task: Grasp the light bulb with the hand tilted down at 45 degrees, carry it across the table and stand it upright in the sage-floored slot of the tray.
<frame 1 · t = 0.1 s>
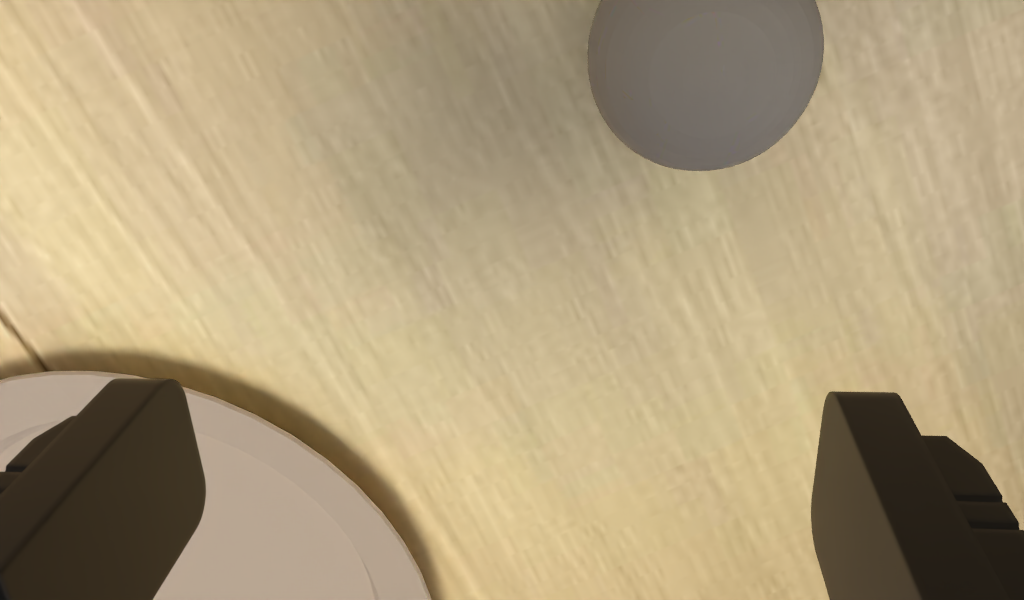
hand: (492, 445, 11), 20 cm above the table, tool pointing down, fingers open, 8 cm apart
light bulb: (680, 10, 28), on the table
plate: (172, 588, 41), on the table
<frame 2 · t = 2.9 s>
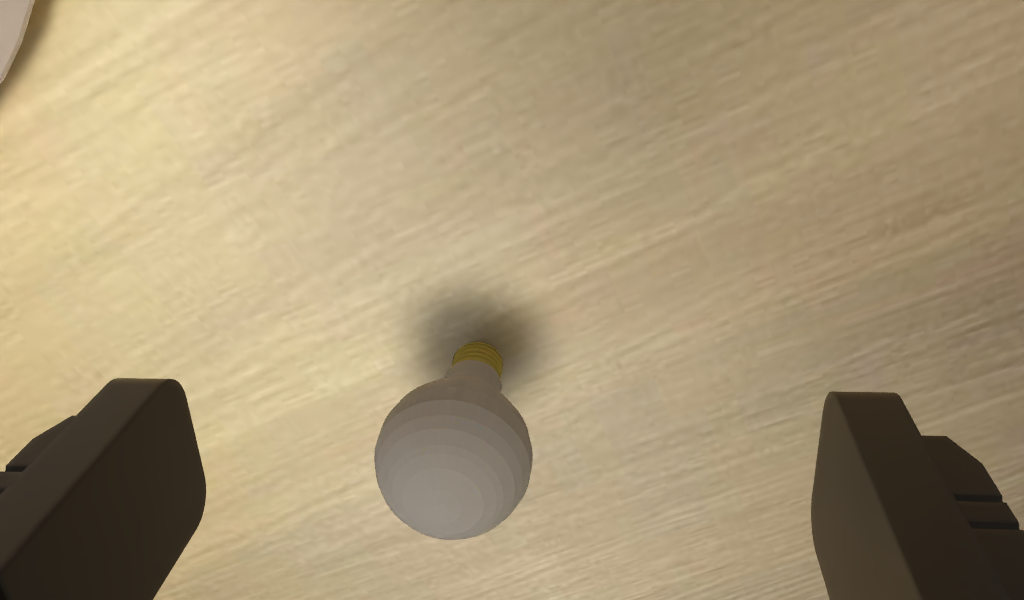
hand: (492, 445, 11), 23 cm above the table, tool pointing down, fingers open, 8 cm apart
light bulb: (481, 353, 38), on the table
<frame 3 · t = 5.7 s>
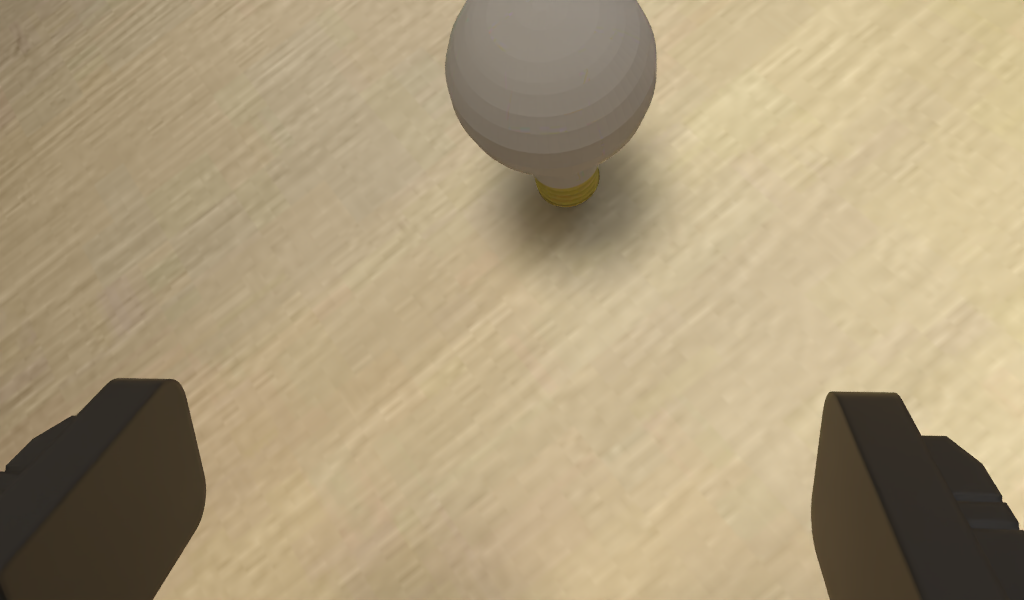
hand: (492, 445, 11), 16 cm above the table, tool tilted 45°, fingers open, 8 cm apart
light bulb: (568, 190, 30), on the table
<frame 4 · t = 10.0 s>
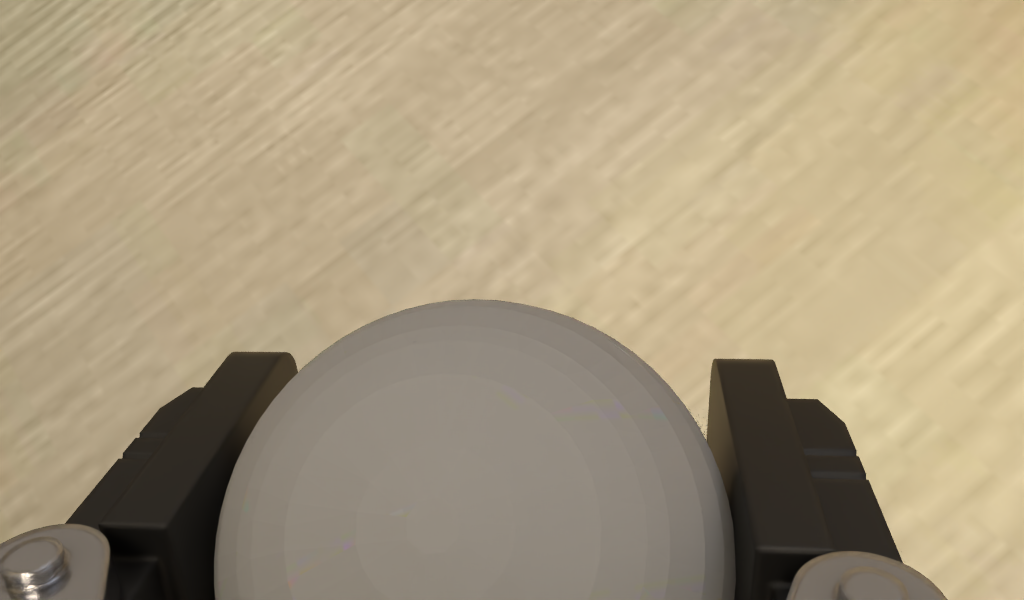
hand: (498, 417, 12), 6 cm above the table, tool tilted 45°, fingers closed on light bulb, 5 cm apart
light bulb: (529, 576, 17), on the table, touching gripper
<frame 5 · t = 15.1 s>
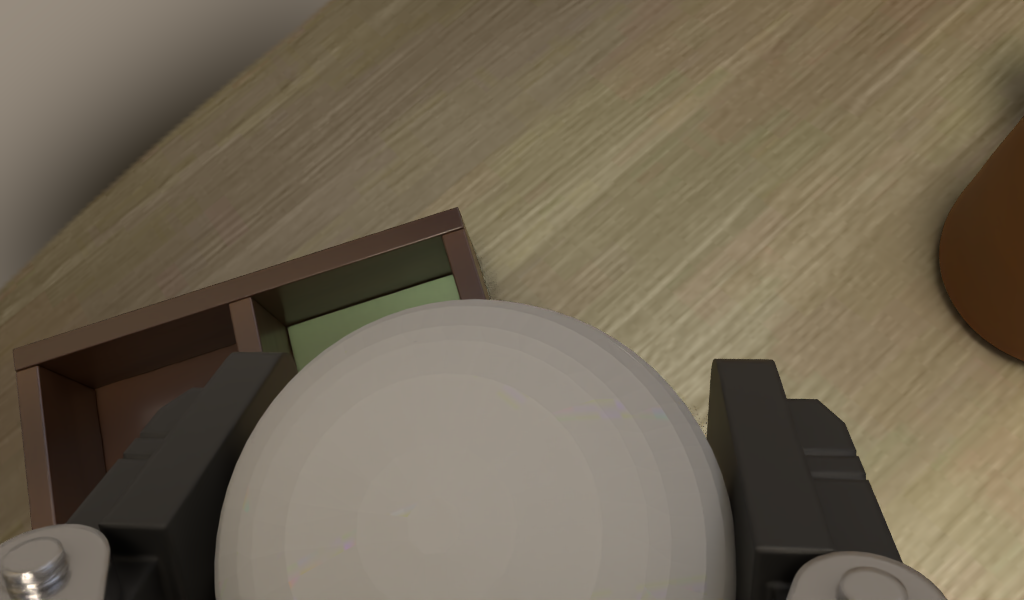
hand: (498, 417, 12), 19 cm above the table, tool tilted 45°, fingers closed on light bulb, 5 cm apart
light bulb: (529, 576, 17), point 13 cm above the table, touching gripper
tray: (300, 418, 32), on the table
when the fingers open (7 cm above the table, at t = 20.2 s): light bulb stays where it is, resting on tray.
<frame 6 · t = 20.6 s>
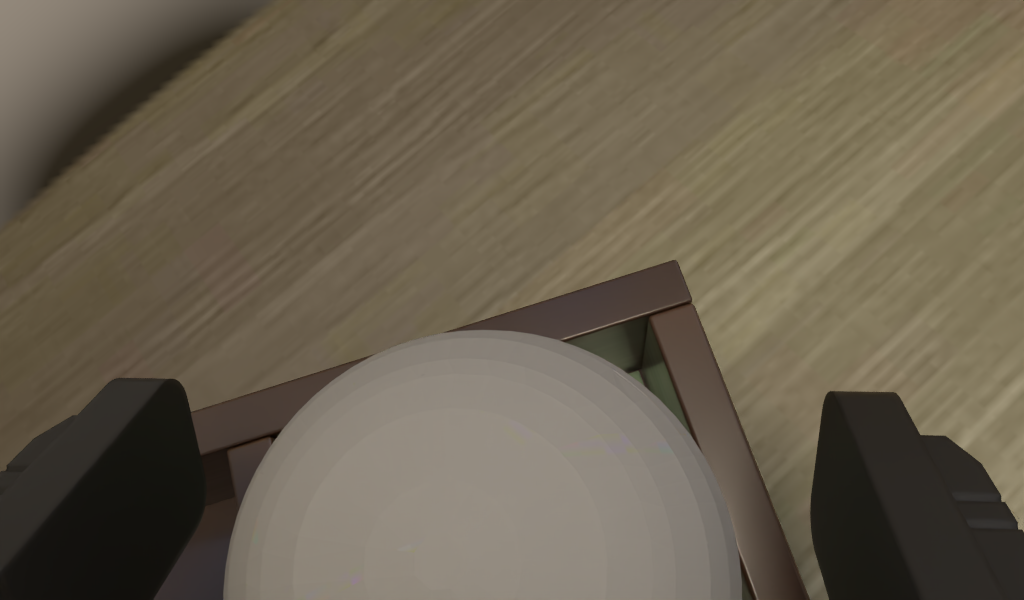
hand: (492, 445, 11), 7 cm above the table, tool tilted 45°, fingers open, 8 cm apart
light bulb: (536, 596, 17), point 1 cm above the table, touching tray
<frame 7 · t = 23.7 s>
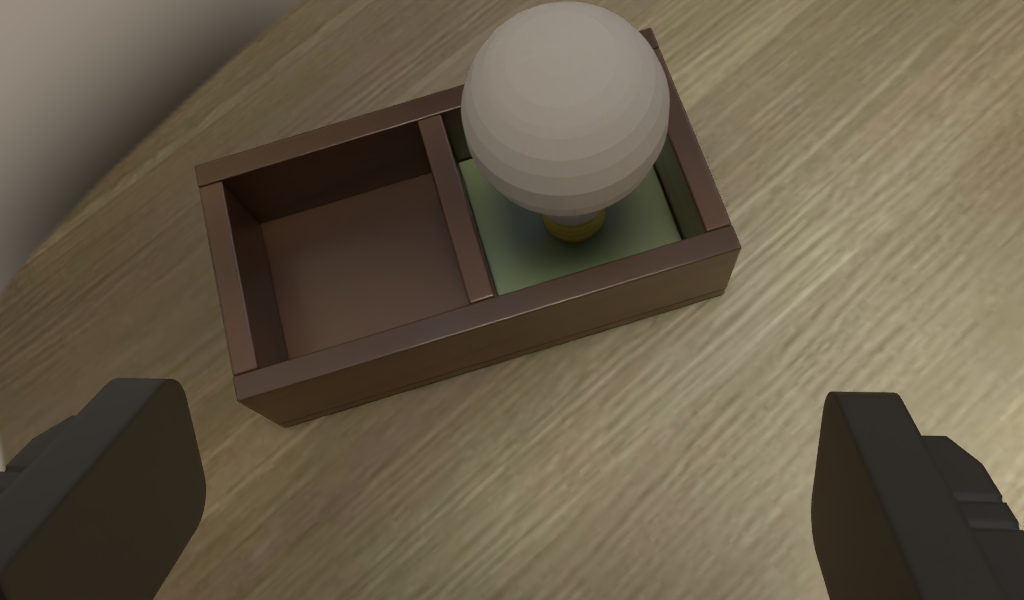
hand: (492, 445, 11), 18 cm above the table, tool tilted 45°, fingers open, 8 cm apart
light bulb: (573, 225, 31), point 1 cm above the table, touching tray
tray: (472, 254, 31), on the table
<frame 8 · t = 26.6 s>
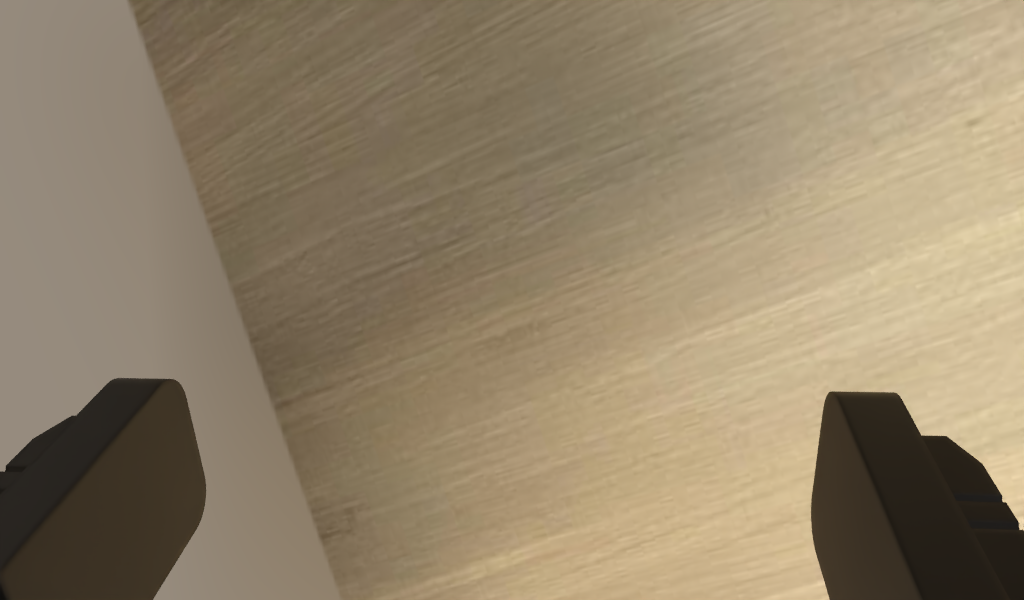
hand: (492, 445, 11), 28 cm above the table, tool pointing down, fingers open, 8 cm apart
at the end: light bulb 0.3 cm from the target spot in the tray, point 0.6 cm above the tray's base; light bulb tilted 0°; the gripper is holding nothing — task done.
